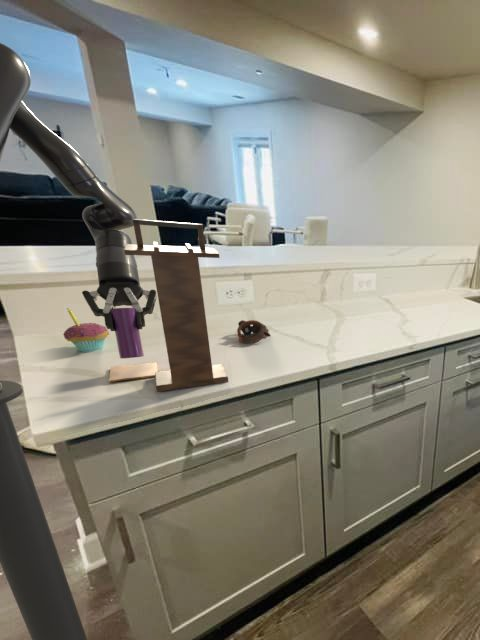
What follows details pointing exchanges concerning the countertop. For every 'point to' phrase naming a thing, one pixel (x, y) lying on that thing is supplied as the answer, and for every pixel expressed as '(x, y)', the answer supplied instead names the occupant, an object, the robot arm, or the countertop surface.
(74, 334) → the cupcake
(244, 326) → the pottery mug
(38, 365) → the countertop surface
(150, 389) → the countertop surface
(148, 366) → the cork coaster
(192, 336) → the stand
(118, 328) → the plum cup
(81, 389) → the countertop surface
